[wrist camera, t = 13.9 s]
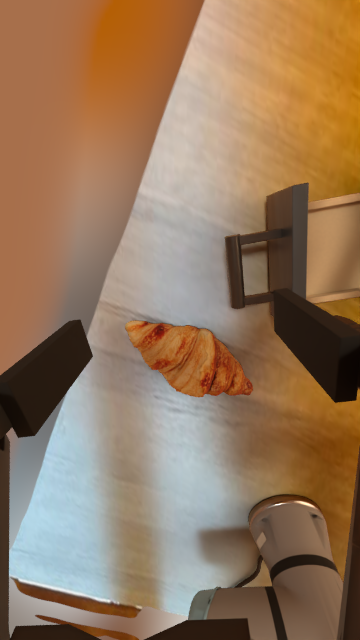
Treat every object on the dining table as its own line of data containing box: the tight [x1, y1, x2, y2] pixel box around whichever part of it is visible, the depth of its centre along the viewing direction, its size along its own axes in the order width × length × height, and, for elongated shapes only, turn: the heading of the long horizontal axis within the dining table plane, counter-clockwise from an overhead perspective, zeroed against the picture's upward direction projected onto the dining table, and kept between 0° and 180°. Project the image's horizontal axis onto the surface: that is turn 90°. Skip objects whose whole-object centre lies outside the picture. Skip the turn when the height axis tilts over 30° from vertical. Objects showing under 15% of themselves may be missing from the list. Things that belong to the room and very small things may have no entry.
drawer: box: [225, 183, 360, 317], centre depth 26 cm, size 24×15×7 cm, turn 100°
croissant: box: [125, 321, 253, 397], centre depth 34 cm, size 21×10×8 cm, turn 62°
